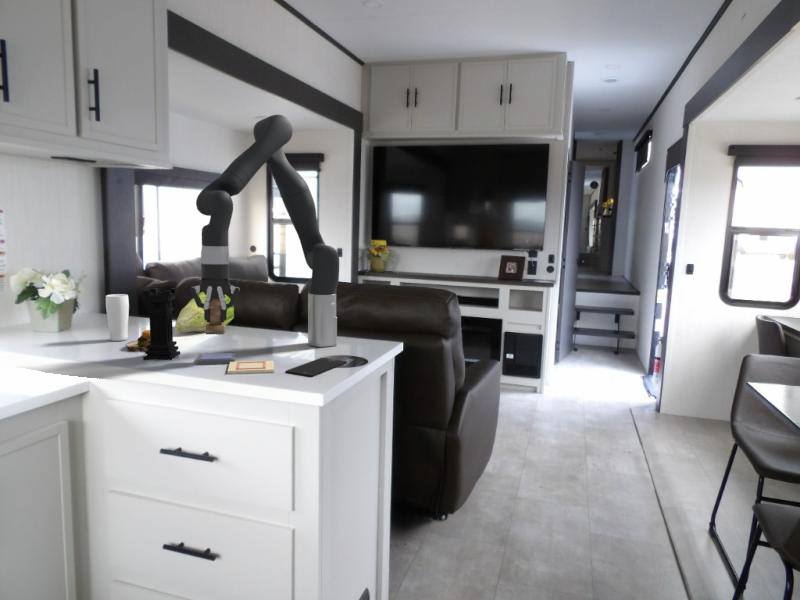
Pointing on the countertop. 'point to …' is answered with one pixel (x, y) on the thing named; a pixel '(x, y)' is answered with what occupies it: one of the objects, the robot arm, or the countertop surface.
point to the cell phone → (316, 367)
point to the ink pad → (216, 358)
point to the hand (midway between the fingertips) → (215, 321)
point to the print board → (251, 367)
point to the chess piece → (160, 325)
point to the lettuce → (197, 316)
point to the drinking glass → (117, 316)
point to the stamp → (215, 318)
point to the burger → (140, 342)
